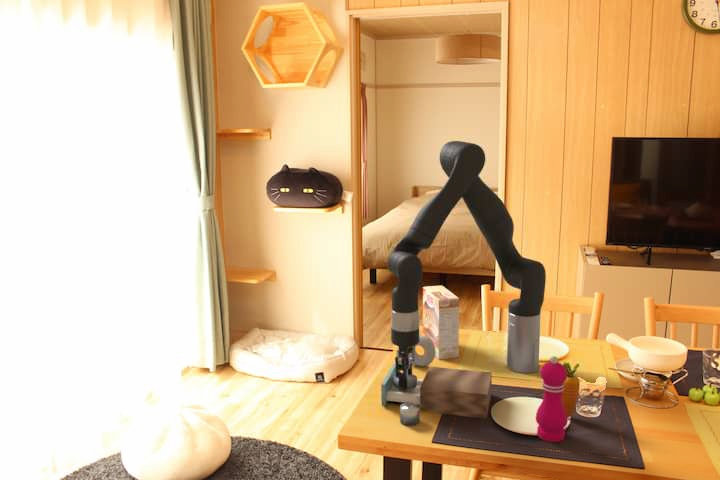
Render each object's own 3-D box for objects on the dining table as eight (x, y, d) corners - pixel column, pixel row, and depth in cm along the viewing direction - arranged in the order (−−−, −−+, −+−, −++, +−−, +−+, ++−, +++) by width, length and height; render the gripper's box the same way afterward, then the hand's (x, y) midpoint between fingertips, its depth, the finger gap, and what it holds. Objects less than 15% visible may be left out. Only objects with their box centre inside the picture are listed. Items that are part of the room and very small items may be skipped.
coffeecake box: (422, 343, 215) (421, 286, 211) (442, 341, 217) (442, 284, 213) (438, 360, 201) (438, 299, 197) (459, 357, 203) (460, 297, 199)
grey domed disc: (419, 380, 177) (419, 374, 177) (414, 390, 171) (414, 384, 171) (396, 378, 179) (396, 372, 179) (391, 388, 173) (391, 381, 173)
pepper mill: (567, 430, 157) (571, 352, 153) (566, 445, 150) (570, 364, 146) (536, 426, 159) (539, 349, 155) (534, 440, 152) (537, 360, 148)
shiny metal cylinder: (420, 418, 164) (420, 403, 164) (417, 427, 160) (417, 412, 159) (402, 415, 166) (402, 401, 165) (398, 424, 161) (398, 409, 160)
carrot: (578, 415, 164) (581, 359, 161) (576, 424, 160) (579, 367, 157) (558, 411, 166) (561, 356, 163) (555, 420, 162) (558, 364, 159)
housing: (491, 394, 177) (491, 372, 175) (486, 418, 164) (487, 394, 162) (429, 388, 181) (429, 366, 180) (420, 411, 168) (420, 387, 167)
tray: (453, 390, 179) (453, 369, 178) (446, 412, 166) (446, 390, 165) (393, 384, 184) (392, 364, 183) (381, 405, 171) (381, 384, 170)
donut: (437, 366, 196) (437, 335, 194) (433, 370, 193) (433, 339, 191) (407, 361, 201) (407, 330, 199) (402, 365, 198) (402, 334, 196)
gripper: (413, 336, 164) (414, 397, 168) (424, 317, 178) (424, 375, 181) (384, 333, 166) (385, 394, 170) (397, 316, 180) (397, 372, 183)
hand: (405, 384), depth 175 cm, fingers closed on grey domed disc, 6 cm apart
